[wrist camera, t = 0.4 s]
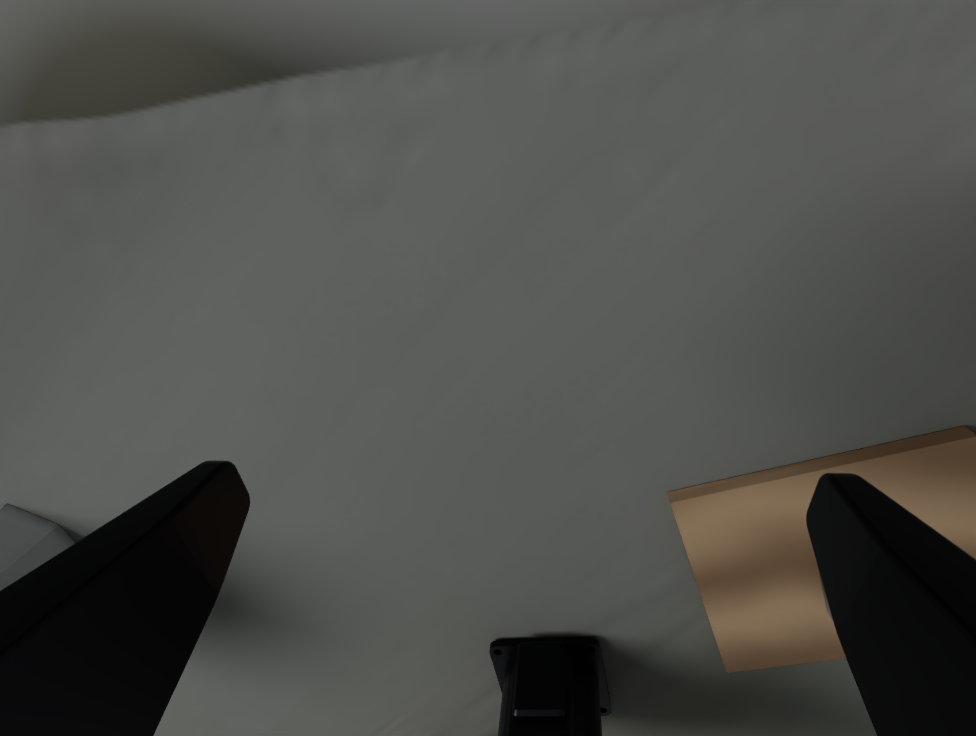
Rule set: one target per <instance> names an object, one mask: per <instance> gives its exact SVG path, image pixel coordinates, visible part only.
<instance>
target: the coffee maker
mask: <svg viewBox="0 0 976 736" xmlns="http://www.w3.org/2000/svg"><path fill="white" fill-rule="evenodd" d="M73 544H75V542H74V541H73V540H72V539H71V538H70V537H69V536H68V534H67V533H66V532H65V531H64V530H63V529H62V528H61V526H60V525H58V524H56V523H53V522H51V521H48V520H46V519H43V518H41V517H38V516H36V515H34V514H31V513H29V512H26V511H24V510H21V509H19V508H16V507H14V506H11V505H9V504H3V505H0V591H1V590H2V589H4V588H5V587H7V586H8V585H10V584H12V583H13V582H15V581H16V580H18V579H20V578H21V577H23V576H24V575H26V574H27V573H29V572H31V571H32V570H34V569H35V568H37V567H38V566H40V565H42V564H43V563H45V562H46V561H48V560H50V559H51V558H53V557H54V556H56V555H57V554H59V553H61V552H62V551H64V550H65V549H67V548H68V547H70V546H72V545H73Z"/></svg>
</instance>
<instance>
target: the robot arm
mask: <svg viewBox="0 0 976 736" xmlns="http://www.w3.org/2000/svg"><path fill="white" fill-rule="evenodd" d="M249 506H250V497H249V493H248V491H247V489H246V487H245V485H244V483H243V481H242V479H241V477H240V475H239V473H238V471H237V468H236V467H235V465H234V464H233V463H231V462H229V461H205V462H203V463H201V464H199V465H198V466H196V467H195V468H193V469H192V470H190V471H188V472H187V473H185V474H184V475H182V476H181V477H179V478H177V479H176V480H174V481H173V482H171V483H169V484H168V485H166V486H165V487H163V488H162V489H160V490H158V491H157V492H155V493H154V494H152V495H151V496H149V497H147V498H146V499H144V500H143V501H141V502H139V503H138V504H136V505H135V506H133V507H132V508H130V509H128V510H127V511H125V512H124V513H122V514H121V515H119V516H117V517H116V518H114V519H113V520H111V521H109V522H108V523H106V524H105V525H103V526H102V527H100V528H98V529H97V530H95V531H94V532H92V533H91V534H89V535H87V536H86V537H84V538H83V539H81V540H80V541H78V542H76V543H75V544H73V545H72V546H70V547H68V548H67V549H65V550H64V551H62V552H61V553H59V554H57V555H56V556H54V557H53V558H51V559H50V560H48V561H46V562H45V563H43V564H42V565H40V566H38V567H37V568H35V569H34V570H32V571H31V572H29V573H27V574H26V575H24V576H23V577H21V578H20V579H18V580H16V581H15V582H13V583H12V584H10V585H8V586H7V587H5V588H4V589H2V590H1V591H0V736H153V735H154V733H155V731H156V729H157V726H158V724H159V722H160V720H161V718H162V716H163V714H164V711H165V709H166V707H167V705H168V703H169V701H170V699H171V696H172V694H173V692H174V690H175V688H176V686H177V684H178V681H179V679H180V677H181V675H182V673H183V671H184V669H185V666H186V664H187V662H188V660H189V658H190V656H191V654H192V651H193V649H194V647H195V645H196V643H197V641H198V639H199V636H200V634H201V632H202V630H203V628H204V626H205V624H206V621H207V619H208V617H209V615H210V613H211V611H212V608H213V606H214V604H215V602H216V599H217V597H218V595H219V592H220V589H221V587H222V584H223V582H224V579H225V576H226V573H227V570H228V567H229V565H230V562H231V559H232V556H233V553H234V550H235V548H236V545H237V542H238V539H239V536H240V533H241V531H242V528H243V525H244V522H245V519H246V516H247V514H248V511H249ZM806 524H807V529H808V533H809V536H810V540H811V544H812V547H813V551H814V555H815V558H816V562H817V565H818V569H819V573H820V576H821V580H822V583H823V587H824V591H825V594H826V598H827V602H828V605H829V609H830V612H831V616H832V619H833V622H834V626H835V629H836V632H837V635H838V638H839V640H840V643H841V646H842V648H843V651H844V654H845V656H846V659H847V661H848V664H849V666H850V669H851V671H852V674H853V676H854V679H855V681H856V684H857V686H858V689H859V691H860V694H861V696H862V699H863V701H864V704H865V706H866V709H867V711H868V714H869V716H870V719H871V721H872V724H873V726H874V729H875V731H876V734H877V736H976V559H975V558H973V557H972V556H971V555H969V554H968V553H967V552H965V551H964V550H962V549H961V548H960V547H958V546H957V545H955V544H954V543H953V542H951V541H950V540H948V539H947V538H946V537H944V536H943V535H941V534H940V533H939V532H937V531H936V530H935V529H933V528H932V527H930V526H929V525H928V524H926V523H925V522H923V521H922V520H921V519H919V518H918V517H916V516H915V515H914V514H912V513H911V512H909V511H908V510H907V509H905V508H904V507H902V506H901V505H900V504H898V503H897V502H896V501H894V500H893V499H891V498H890V497H889V496H887V495H886V494H884V493H883V492H882V491H880V490H879V489H877V488H876V487H875V486H873V485H872V484H870V483H869V482H868V481H866V480H865V479H864V478H862V477H860V476H859V475H856V474H852V473H825V474H823V475H822V476H821V477H820V478H819V480H818V483H817V485H816V488H815V491H814V493H813V496H812V499H811V502H810V504H809V507H808V510H807V514H806ZM490 655H491V659H492V662H493V665H494V668H495V672H496V675H497V678H498V681H499V685H500V688H501V691H502V703H501V713H500V722H499V731H498V736H602V725H601V716H605V715H609V714H610V713H611V703H610V698H609V692H608V687H607V682H606V676H605V671H604V665H603V660H602V655H601V649H600V644H599V641H598V640H596V639H594V638H561V639H529V640H497V641H493V642H491V644H490Z"/></svg>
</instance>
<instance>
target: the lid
mask: <svg viewBox="0 0 976 736" xmlns="http://www.w3.org/2000/svg"><path fill="white" fill-rule="evenodd" d="M825 473H852V474H856V475H859V476H860V477H862V478H864V479H865V480H866V481H868V482H869V483H870V484H872V485H873V486H875V487H876V488H877V489H879V490H880V491H882V492H883V493H884V494H886V495H887V496H889V497H890V498H891V499H893V500H894V501H896V502H897V503H898V504H900V505H901V506H902V507H904V508H905V509H907V510H908V511H909V512H911V513H912V514H914V515H915V516H916V517H918V518H919V519H921V520H922V521H923V522H925V523H926V524H928V525H929V526H930V527H932V528H933V529H935V530H936V531H937V532H939V533H940V534H941V535H943V536H944V537H946V538H947V539H948V540H950V541H951V542H953V543H954V544H955V545H957V546H958V547H960V548H961V549H962V550H964V551H965V552H967V553H968V554H969V555H971V556H972V557H973V558H975V559H976V435H975V434H974V433H973V432H972V431H970V430H969V429H968V428H966V427H965V426H961V427H956V428H952V429H947V430H943V431H938V432H934V433H929V434H925V435H921V436H916V437H912V438H907V439H903V440H898V441H894V442H889V443H885V444H880V445H876V446H871V447H867V448H862V449H858V450H853V451H849V452H845V453H840V454H836V455H831V456H827V457H822V458H818V459H813V460H809V461H804V462H800V463H795V464H791V465H786V466H782V467H777V468H773V469H768V470H764V471H760V472H755V473H751V474H746V475H742V476H737V477H733V478H728V479H724V480H719V481H715V482H710V483H706V484H701V485H697V486H692V487H688V488H684V489H679V490H675V491H670V492H668V496H669V500H670V503H671V506H672V509H673V512H674V515H675V518H676V521H677V524H678V527H679V530H680V533H681V537H682V540H683V543H684V546H685V549H686V552H687V555H688V558H689V561H690V564H691V567H692V570H693V573H694V576H695V579H696V582H697V585H698V588H699V591H700V594H701V597H702V600H703V603H704V606H705V609H706V612H707V615H708V618H709V621H710V624H711V627H712V630H713V633H714V636H715V639H716V642H717V645H718V648H719V651H720V654H721V657H722V660H723V663H724V666H725V669H726V673H732V672H740V671H748V670H756V669H764V668H772V667H779V666H787V665H795V664H803V663H811V662H819V661H827V660H834V659H842V658H846V656H845V654H844V651H843V648H842V646H841V643H840V640H839V638H838V635H837V632H836V629H835V626H834V622H833V619H832V616H831V612H830V609H829V605H828V602H827V598H826V594H825V591H824V587H823V583H822V580H821V576H820V573H819V569H818V565H817V562H816V558H815V555H814V551H813V547H812V544H811V540H810V536H809V533H808V529H807V524H806V514H807V510H808V507H809V504H810V502H811V499H812V496H813V493H814V491H815V488H816V485H817V483H818V480H819V478H820V477H821V476H822V475H823V474H825Z"/></svg>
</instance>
